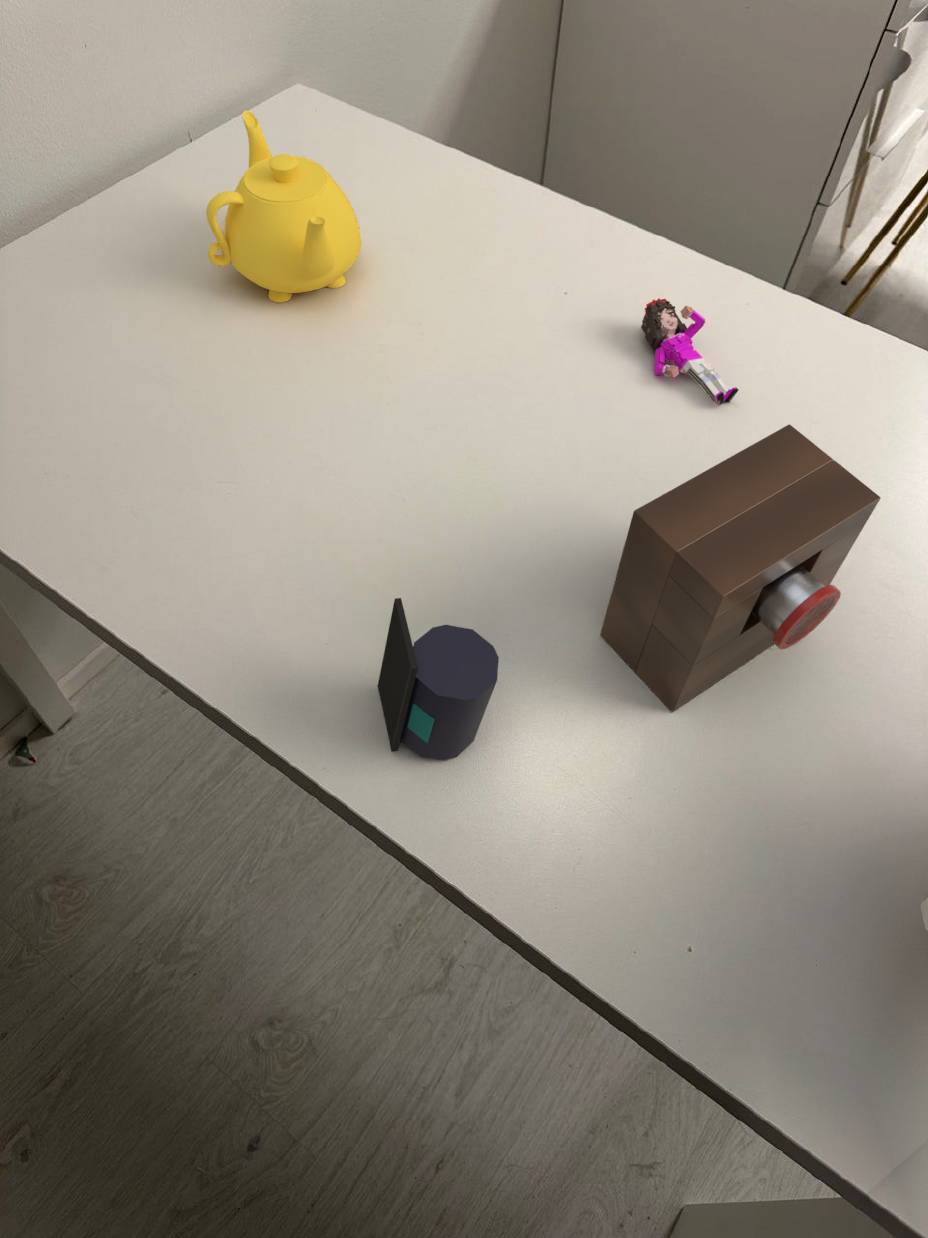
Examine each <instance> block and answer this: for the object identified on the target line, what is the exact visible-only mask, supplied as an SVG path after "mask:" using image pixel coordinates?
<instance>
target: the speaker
mask: <svg viewBox="0 0 928 1238" xmlns="http://www.w3.org/2000/svg"><path fill="white" fill-rule="evenodd" d="M406 617H407V616H406V613H405V609H404V605H403V601H402V597H397V598H396V597H395V598H394V601H393V606H392V610H391V616H390V621H389V626H388V632H387V636H386V641H385V646H384V652H383V655H382V656H383V657H382V661H381V666H380V672H379V676H378V683H377V690H378V695H379V700H380V703H381V704H380V705H381V708H382V713H383V719H384V723H385V727H386V728H385V729H386V732H387V733H386V734H387V737H388V741H389V746H390V751H391V752H396V751H398V749H399V746H400V741H401V742H403V743H404V744H405V746H407V747H408V748H409V749H410V750H411V751H413V752H414V753H415V754H416V755H417V756H419V757H423V758H430V759H434V760H435V759H436V760H441V761H447V760H450V759H454V758H457V757H458V756H460V754H462V752H464V751H465V750H466V749H467V748H468V747H469V746H470V745H471V744H472V743H474V741H475V738H476V735H477V733H478V730H479V728H480V725H481V722H482V720H483V717H484V716H485V712H486V710H487V707H488V704H489V702H490V700H491V697H492V694H493V692H494V689H495V687H496V684H497V681H498V675H499V673H498V672H499V662H500V661H499V660H500V659H499V657H500V656H499V654H498V653H497V651H496V649H495V647H494V645H493V644H491V643H490V642H489V641H488V640H486V639H485V638H484V637H483V636H482V635H481V634H480V633H478V632H477V631H475V630H474V629H473V628H467V627H462V626H456V625H450V624H442V625H438V626H433V627H431V628H430V629H428V631H427V632H425V633H424V634H423V635H421V637H419V638H418V639H416V640H415V641H414V642H412V638H411V633H410V629H409V625H408V621H407V620H408V619H407V618H406Z"/></svg>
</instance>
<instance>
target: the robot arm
mask: <svg viewBox="0 0 928 1238" xmlns="http://www.w3.org/2000/svg"><path fill="white" fill-rule="evenodd" d="M920 911H921V916H922V917H921V918H922V920H923V925H924V928H925V930H926V931H927V932H928V897H927V898H926V899H924V900H923V901H922V902H921V904H920Z"/></svg>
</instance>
